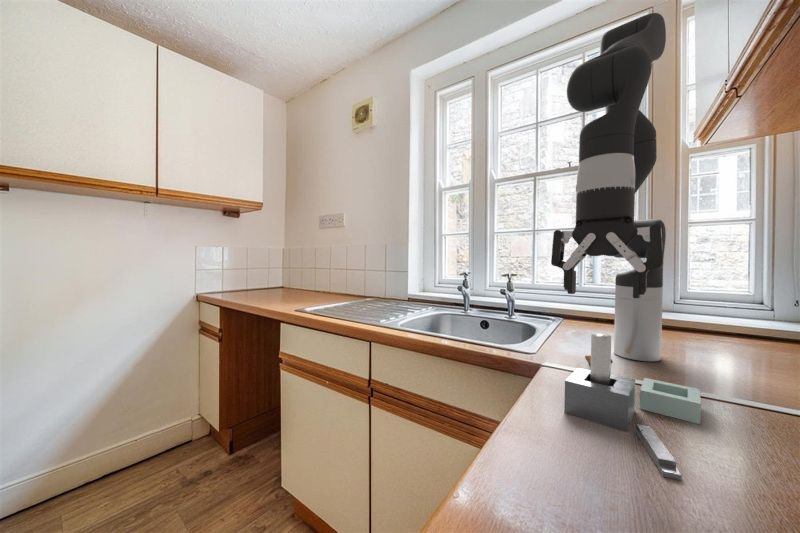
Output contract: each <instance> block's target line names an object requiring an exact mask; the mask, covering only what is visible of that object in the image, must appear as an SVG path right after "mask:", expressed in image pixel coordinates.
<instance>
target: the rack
mask: <svg viewBox="0 0 800 533" xmlns="http://www.w3.org/2000/svg"><path fill="white" fill-rule="evenodd" d="M700 392H701V391H700V388H695V387H692V386H687V385H682V384H676V383H671V382H667V381H662V380H658V379H652V378H647V377H643V381H642V383H641V387H640V390H639V410H643V411H647V412H650V413H654V414H659V415H662V416H666V417H670V418H674V419H678V420H681V421H686V422H688V423H689V422H690V423H693V424H697V425H701V414H702V401H701V400H702V399H701V393H700Z"/></svg>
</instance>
